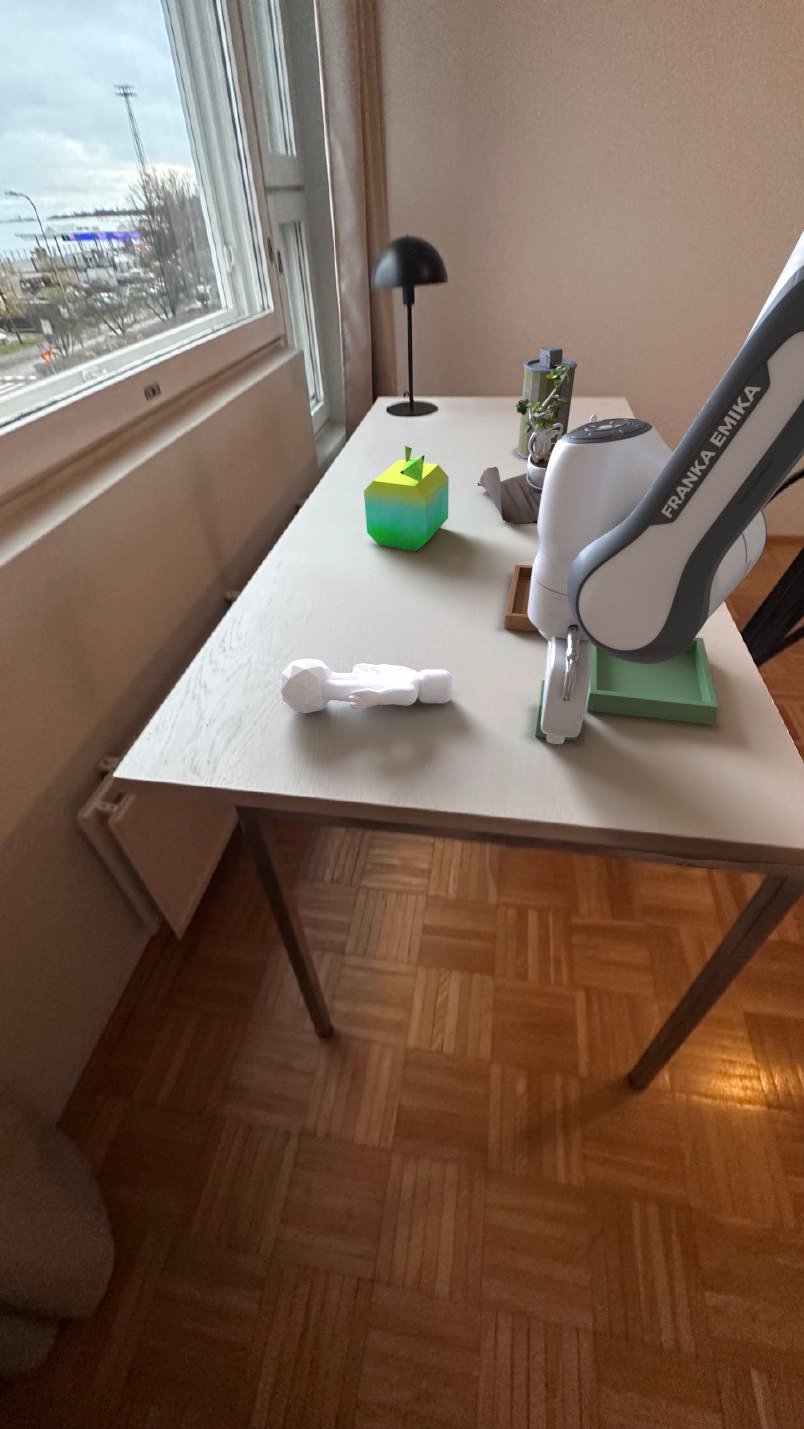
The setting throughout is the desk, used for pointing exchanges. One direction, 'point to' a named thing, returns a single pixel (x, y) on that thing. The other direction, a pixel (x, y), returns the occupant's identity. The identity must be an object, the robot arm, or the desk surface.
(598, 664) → the green tray
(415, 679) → the figure
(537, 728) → the green block
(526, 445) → the canister
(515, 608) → the wood tray
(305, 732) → the desk surface
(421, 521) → the low-poly cube fruit
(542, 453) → the potted plant
